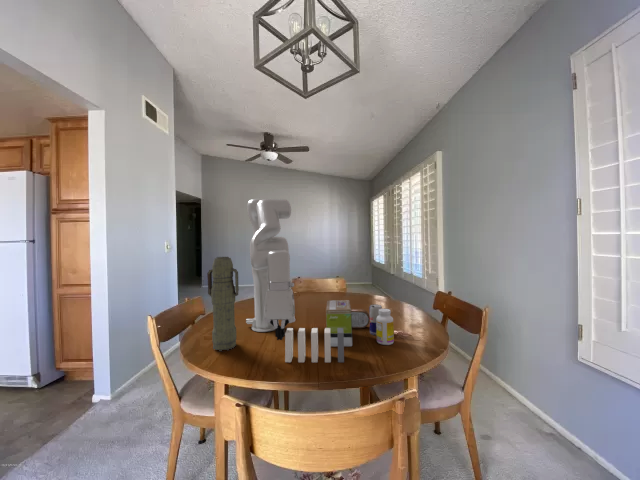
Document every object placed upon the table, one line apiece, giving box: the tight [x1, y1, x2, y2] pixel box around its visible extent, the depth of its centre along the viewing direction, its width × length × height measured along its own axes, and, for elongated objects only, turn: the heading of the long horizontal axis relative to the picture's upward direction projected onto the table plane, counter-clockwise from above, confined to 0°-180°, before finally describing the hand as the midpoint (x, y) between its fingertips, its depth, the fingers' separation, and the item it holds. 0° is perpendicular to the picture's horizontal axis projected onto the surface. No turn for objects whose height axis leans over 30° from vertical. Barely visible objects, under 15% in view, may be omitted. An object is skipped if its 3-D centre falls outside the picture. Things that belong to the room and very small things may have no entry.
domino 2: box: [297, 327, 306, 363], centre depth 98 cm, size 2×5×10 cm, turn 178°
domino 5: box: [337, 328, 345, 363], centre depth 98 cm, size 2×5×10 cm, turn 177°
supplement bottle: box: [376, 308, 395, 346], centre depth 112 cm, size 7×7×13 cm
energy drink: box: [368, 303, 383, 336], centre depth 122 cm, size 5×5×12 cm
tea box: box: [325, 299, 353, 348], centre depth 116 cm, size 15×10×15 cm
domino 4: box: [323, 327, 332, 363], centre depth 98 cm, size 2×5×10 cm, turn 178°
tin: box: [351, 308, 370, 329], centre depth 130 cm, size 15×3×8 cm, turn 84°
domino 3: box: [310, 327, 319, 363], centre depth 98 cm, size 2×5×10 cm, turn 178°
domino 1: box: [284, 327, 294, 363], centre depth 98 cm, size 2×5×10 cm, turn 178°
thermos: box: [206, 256, 240, 352], centre depth 110 cm, size 9×12×35 cm
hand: (280, 338), depth 98 cm, fingers closed
